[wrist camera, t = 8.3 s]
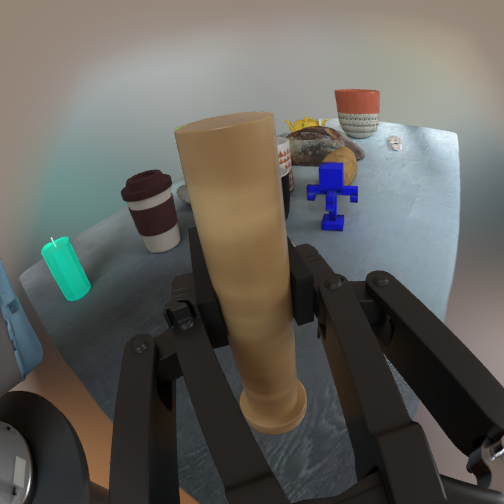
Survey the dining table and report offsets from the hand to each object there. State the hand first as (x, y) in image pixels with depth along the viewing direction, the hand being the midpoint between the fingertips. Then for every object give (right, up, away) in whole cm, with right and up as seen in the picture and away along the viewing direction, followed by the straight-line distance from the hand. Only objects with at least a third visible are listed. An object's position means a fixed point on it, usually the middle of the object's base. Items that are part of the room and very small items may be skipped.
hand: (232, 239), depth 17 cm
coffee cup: (-17, +1, +42) cm, 45 cm away
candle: (-32, -8, +32) cm, 46 cm away
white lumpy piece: (+60, +44, +88) cm, 115 cm away
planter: (+48, +49, +100) cm, 122 cm away
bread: (+24, +33, +81) cm, 91 cm away
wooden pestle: (+3, -11, +1) cm, 12 cm away
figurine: (+17, +4, +38) cm, 42 cm away
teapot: (+26, +49, +105) cm, 119 cm away
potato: (+23, +16, +54) cm, 61 cm away
